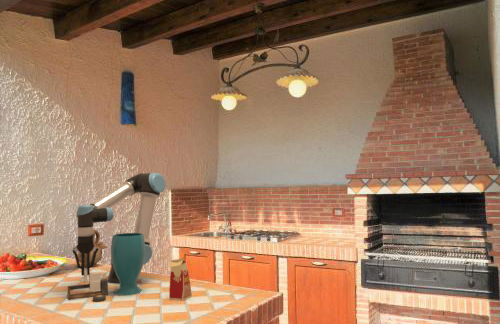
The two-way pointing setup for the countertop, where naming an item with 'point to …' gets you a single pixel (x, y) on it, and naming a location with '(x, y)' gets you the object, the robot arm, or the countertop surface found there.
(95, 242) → the ceramic vessel
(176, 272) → the milk carton
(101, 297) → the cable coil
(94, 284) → the sleeve
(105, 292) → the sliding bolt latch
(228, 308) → the countertop surface
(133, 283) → the vase
